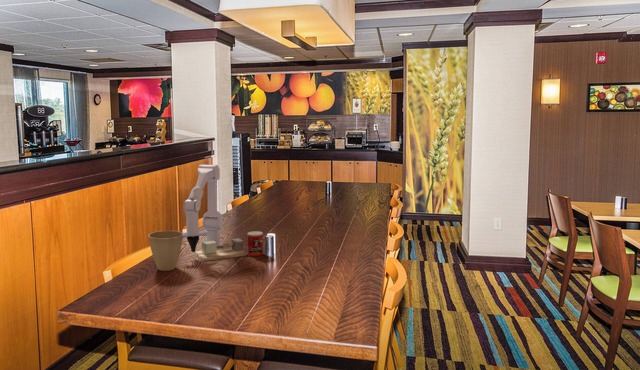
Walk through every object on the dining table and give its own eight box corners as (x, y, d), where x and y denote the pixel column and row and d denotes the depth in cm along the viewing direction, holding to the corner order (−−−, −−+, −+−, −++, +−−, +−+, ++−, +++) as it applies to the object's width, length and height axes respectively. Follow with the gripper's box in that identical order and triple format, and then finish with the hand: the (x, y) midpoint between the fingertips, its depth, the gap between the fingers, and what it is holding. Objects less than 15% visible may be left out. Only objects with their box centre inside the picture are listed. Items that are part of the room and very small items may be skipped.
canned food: (248, 257, 244) (248, 235, 243) (246, 252, 252) (246, 231, 250) (264, 255, 246) (264, 234, 245) (261, 251, 254) (261, 230, 252)
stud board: (194, 254, 249) (194, 241, 248) (236, 248, 259) (236, 236, 258) (202, 261, 237) (201, 248, 236) (245, 255, 247) (245, 242, 246)
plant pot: (148, 274, 216) (147, 239, 214) (150, 265, 230) (149, 231, 228) (184, 272, 220) (183, 237, 218) (184, 262, 234) (182, 229, 232)
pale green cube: (201, 251, 246) (201, 241, 245) (213, 250, 249) (213, 240, 248) (204, 254, 241) (204, 244, 241) (216, 252, 244) (216, 242, 244)
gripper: (179, 227, 232) (179, 255, 234) (209, 224, 239) (210, 251, 241) (175, 224, 239) (176, 251, 241) (205, 221, 245) (206, 248, 247)
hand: (193, 251), depth 241 cm, fingers closed
